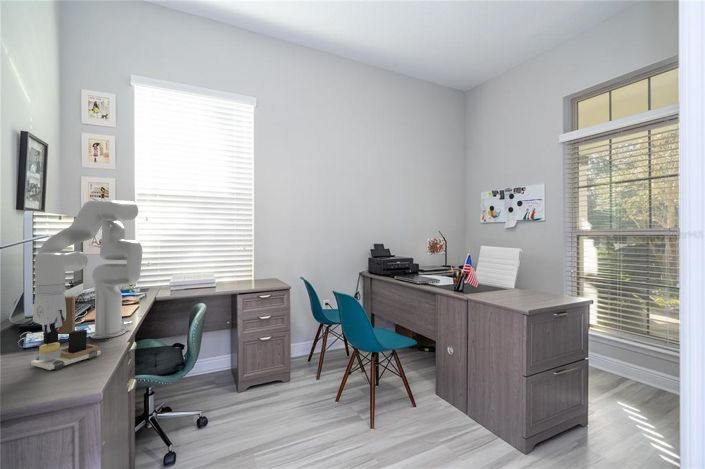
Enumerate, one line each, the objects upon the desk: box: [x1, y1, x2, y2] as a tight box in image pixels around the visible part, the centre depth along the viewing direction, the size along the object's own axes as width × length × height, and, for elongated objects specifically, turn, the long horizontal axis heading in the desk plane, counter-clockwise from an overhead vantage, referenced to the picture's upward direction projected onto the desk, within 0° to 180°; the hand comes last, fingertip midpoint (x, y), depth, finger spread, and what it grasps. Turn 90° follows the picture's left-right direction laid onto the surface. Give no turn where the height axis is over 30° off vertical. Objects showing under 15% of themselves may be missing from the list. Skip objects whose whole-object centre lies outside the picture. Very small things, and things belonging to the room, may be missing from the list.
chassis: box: [30, 343, 102, 371], centre depth 113 cm, size 15×11×5 cm
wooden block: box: [58, 295, 76, 334], centre depth 136 cm, size 9×4×18 cm, turn 118°
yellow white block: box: [38, 341, 61, 361], centre depth 108 cm, size 5×5×4 cm
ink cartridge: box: [67, 329, 88, 354], centre depth 116 cm, size 5×2×8 cm, turn 129°
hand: (50, 342), depth 108 cm, fingers closed
